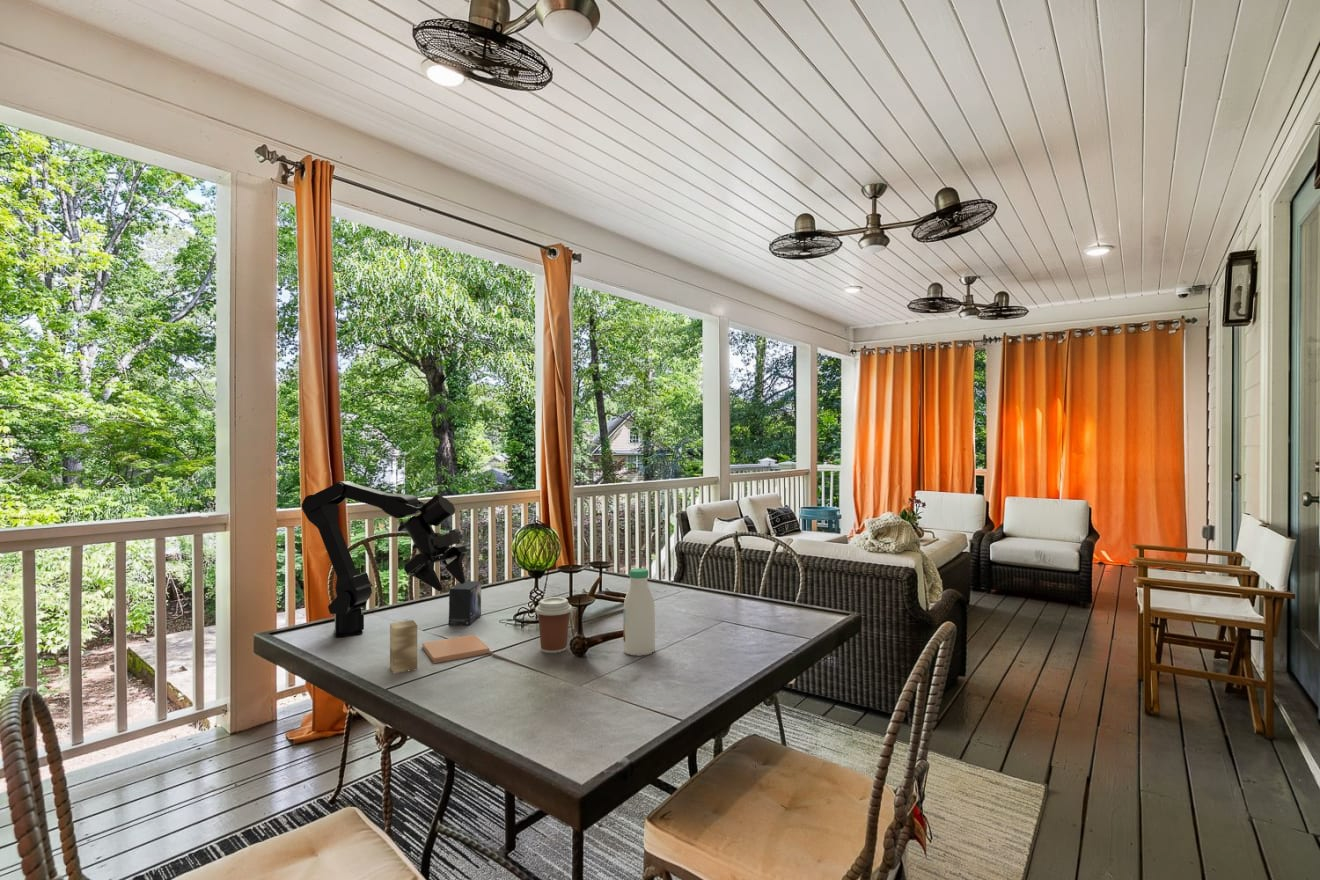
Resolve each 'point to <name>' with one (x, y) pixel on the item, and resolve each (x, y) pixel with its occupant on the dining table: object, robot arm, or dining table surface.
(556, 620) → the coffee cup
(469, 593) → the small box
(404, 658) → the maple block
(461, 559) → the robot arm
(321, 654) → the dining table surface
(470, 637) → the terracotta tile
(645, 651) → the milk bottle
